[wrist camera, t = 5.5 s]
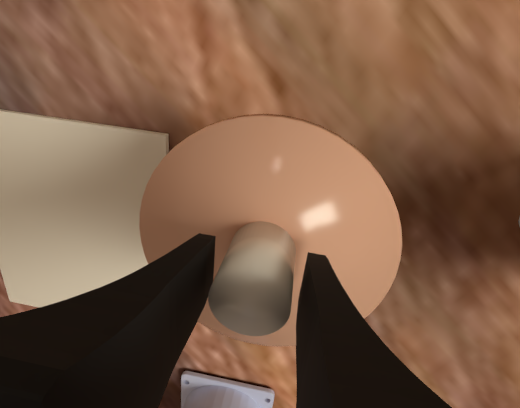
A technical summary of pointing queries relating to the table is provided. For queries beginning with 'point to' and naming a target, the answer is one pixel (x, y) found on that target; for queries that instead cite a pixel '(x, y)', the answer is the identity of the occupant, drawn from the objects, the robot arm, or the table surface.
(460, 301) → the table surface
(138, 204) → the mat
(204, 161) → the lid
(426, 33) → the table surface
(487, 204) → the table surface
